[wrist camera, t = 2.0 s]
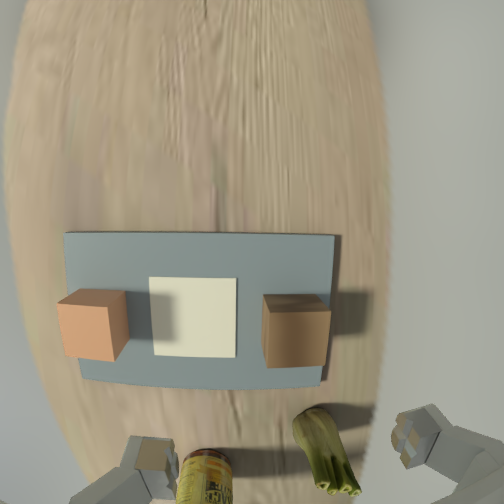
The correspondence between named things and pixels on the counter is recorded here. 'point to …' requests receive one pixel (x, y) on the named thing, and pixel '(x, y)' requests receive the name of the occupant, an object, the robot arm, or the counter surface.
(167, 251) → the build board
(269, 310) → the walnut block
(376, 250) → the counter surface
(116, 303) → the terracotta block
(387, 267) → the counter surface
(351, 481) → the fennel bulb
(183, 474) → the sauce bottle
